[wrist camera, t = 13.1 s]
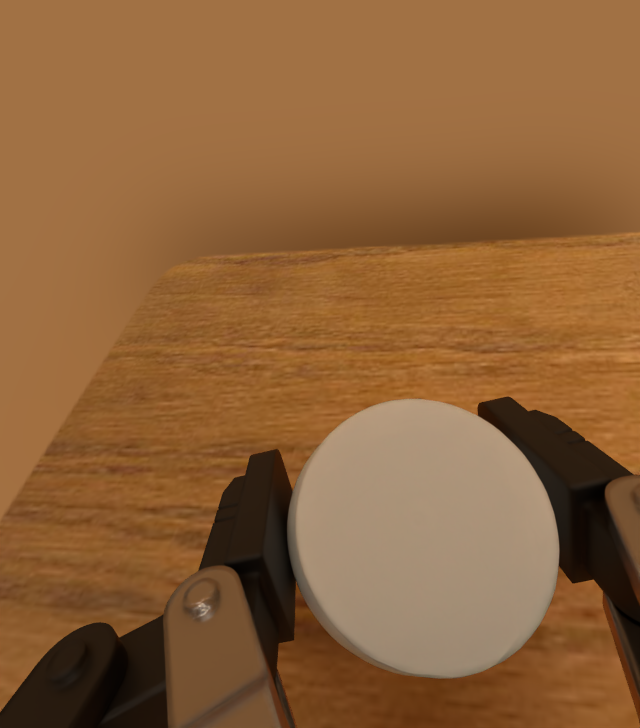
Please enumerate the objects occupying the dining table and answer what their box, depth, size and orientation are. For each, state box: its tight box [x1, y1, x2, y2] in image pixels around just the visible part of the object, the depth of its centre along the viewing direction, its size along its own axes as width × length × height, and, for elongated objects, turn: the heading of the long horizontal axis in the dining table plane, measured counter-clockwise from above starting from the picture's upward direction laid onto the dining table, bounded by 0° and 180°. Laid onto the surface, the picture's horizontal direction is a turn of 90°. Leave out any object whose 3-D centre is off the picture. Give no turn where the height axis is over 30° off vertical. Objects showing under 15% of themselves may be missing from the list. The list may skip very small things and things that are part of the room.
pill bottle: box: [287, 399, 560, 679], centre depth 10 cm, size 5×5×10 cm
